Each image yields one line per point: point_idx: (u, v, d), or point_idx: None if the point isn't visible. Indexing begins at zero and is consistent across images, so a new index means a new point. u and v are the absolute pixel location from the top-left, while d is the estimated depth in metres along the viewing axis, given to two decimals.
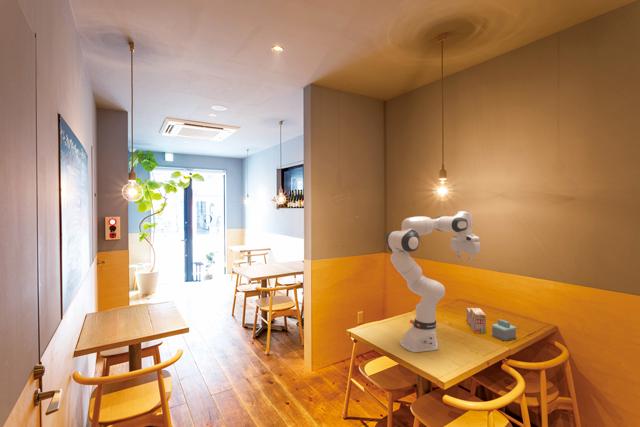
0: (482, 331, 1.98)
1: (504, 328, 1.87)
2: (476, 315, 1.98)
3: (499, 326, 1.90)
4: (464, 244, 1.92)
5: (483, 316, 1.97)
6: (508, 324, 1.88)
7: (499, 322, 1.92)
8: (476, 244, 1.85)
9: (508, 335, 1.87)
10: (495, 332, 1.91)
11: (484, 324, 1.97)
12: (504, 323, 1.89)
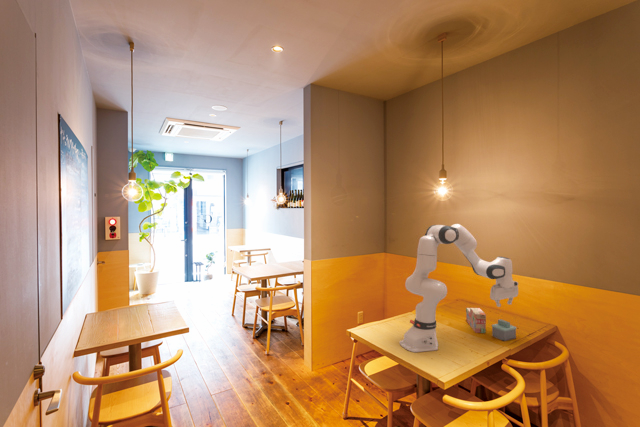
0: (482, 331, 1.98)
1: (504, 328, 1.87)
2: (476, 315, 1.98)
3: (499, 326, 1.90)
4: (507, 290, 1.90)
5: (483, 316, 1.97)
6: (508, 324, 1.88)
7: (499, 322, 1.92)
8: None
9: (508, 335, 1.87)
10: (495, 332, 1.91)
11: (484, 324, 1.98)
12: (504, 323, 1.89)
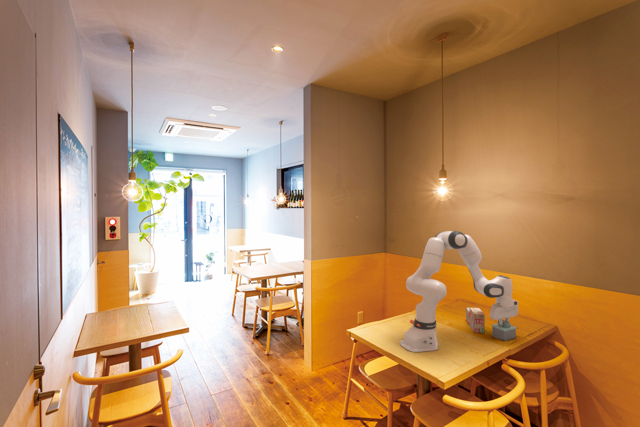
0: (481, 331, 1.98)
1: (504, 328, 1.87)
2: (475, 315, 1.99)
3: (499, 326, 1.90)
4: (507, 310, 1.90)
5: (482, 316, 1.98)
6: (508, 324, 1.88)
7: None
8: None
9: (508, 335, 1.87)
10: (495, 332, 1.91)
11: (483, 324, 1.98)
12: (504, 323, 1.89)
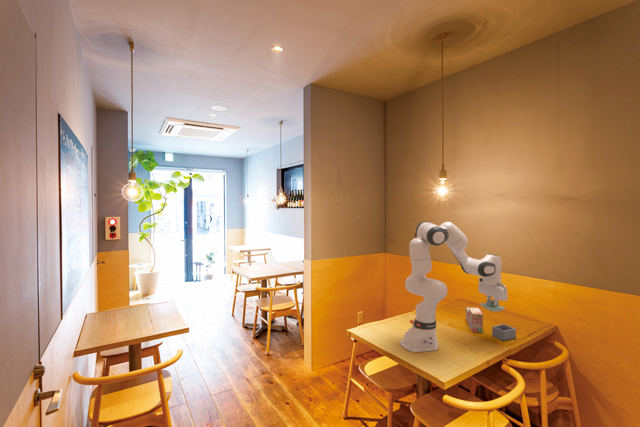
0: (479, 330, 1.99)
1: (500, 307, 1.84)
2: (473, 314, 1.99)
3: (495, 307, 1.83)
4: None
5: (480, 315, 1.98)
6: None
7: (491, 303, 1.85)
8: None
9: (508, 335, 1.87)
10: (495, 332, 1.91)
11: (481, 323, 1.98)
12: None
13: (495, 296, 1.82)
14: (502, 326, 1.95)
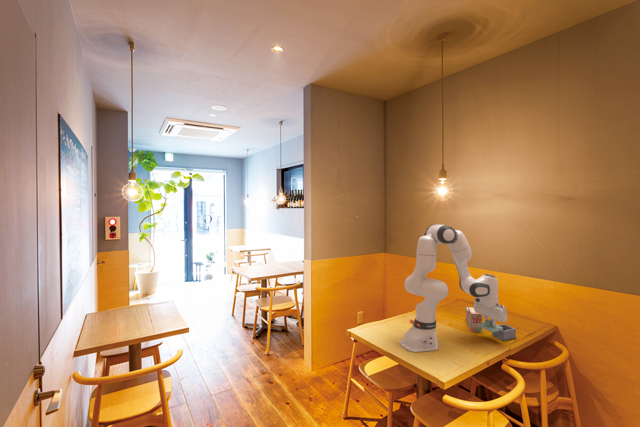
0: (478, 330, 1.99)
1: (498, 326, 1.85)
2: (472, 314, 2.00)
3: (494, 327, 1.84)
4: None
5: (479, 315, 1.99)
6: None
7: (489, 324, 1.85)
8: None
9: (508, 335, 1.87)
10: (495, 332, 1.91)
11: None
12: None
13: (494, 317, 1.82)
14: (502, 326, 1.95)
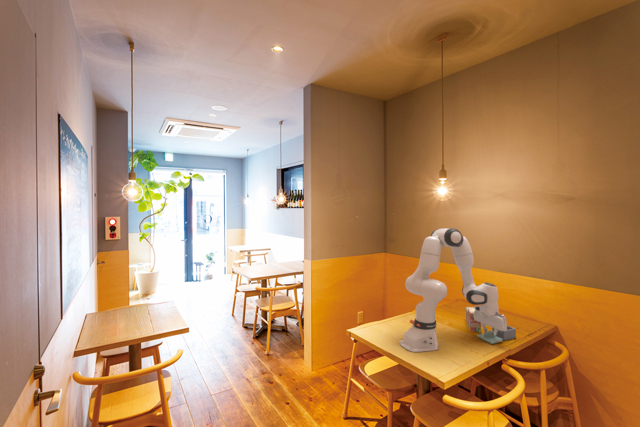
0: (477, 330, 1.99)
1: (498, 338, 1.85)
2: (471, 314, 2.00)
3: (493, 339, 1.84)
4: None
5: None
6: None
7: (489, 335, 1.85)
8: None
9: (508, 335, 1.87)
10: None
11: (479, 323, 1.99)
12: None
13: (494, 326, 1.82)
14: None
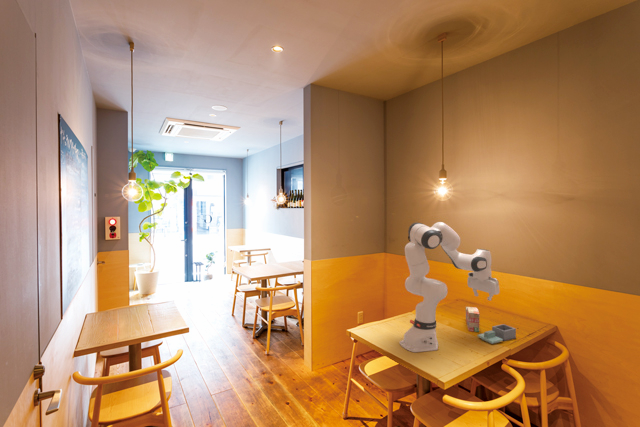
0: (476, 330, 2.00)
1: (498, 338, 1.85)
2: (469, 314, 2.01)
3: (493, 339, 1.84)
4: None
5: (477, 315, 1.99)
6: None
7: (489, 335, 1.85)
8: None
9: (508, 335, 1.87)
10: (495, 332, 1.91)
11: (478, 323, 1.99)
12: (493, 333, 1.86)
13: (487, 290, 1.84)
14: (502, 326, 1.95)
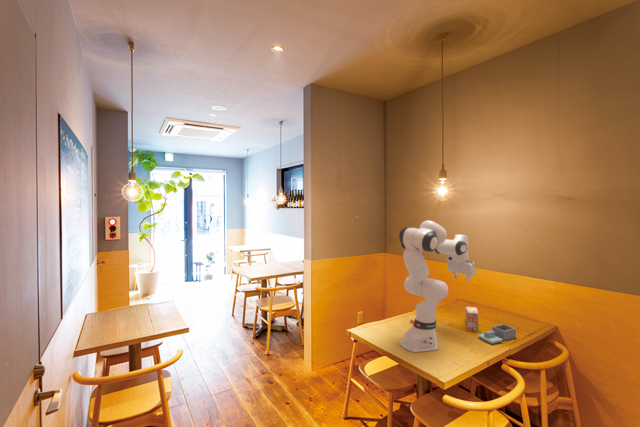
0: (474, 329, 2.00)
1: (498, 338, 1.85)
2: (468, 313, 2.01)
3: (493, 339, 1.84)
4: None
5: (475, 315, 2.00)
6: None
7: (489, 335, 1.85)
8: None
9: (508, 335, 1.87)
10: (495, 332, 1.91)
11: (476, 323, 2.00)
12: (493, 333, 1.86)
13: (464, 272, 1.96)
14: (502, 326, 1.95)
